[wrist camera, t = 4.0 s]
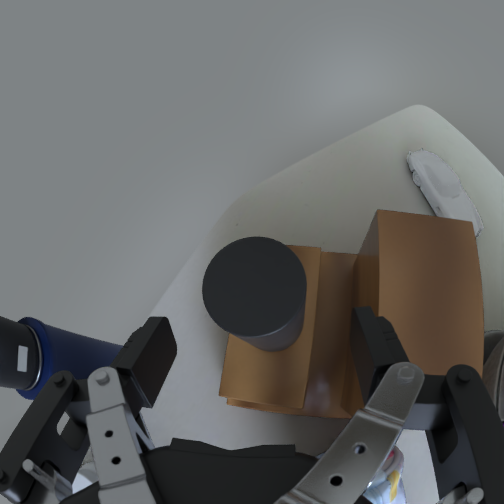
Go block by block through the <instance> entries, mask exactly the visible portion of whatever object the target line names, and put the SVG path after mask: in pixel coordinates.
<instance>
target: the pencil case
mask: <svg viewBox="0 0 504 504" xmlns="http://www.w3.org/2000/svg"><path fill="white" fill-rule="evenodd" d="M323 454H324V453H322V454H321V455H319V456H317V457H315V458H317V459H320V458H321V457H322V456H323ZM403 465H404V456H403V454H402V452H401V451H400V450H399V448H398V447H396V446H395V445H394V447H393V449H392V451H391V452H390V454H389V456H388V458H387V459H386V461H385V463H384V464H383V466H382V468H381V469H380V471H379V472H378V474H377V476H376V477H375V479H374V480H373V482H372V483H371V485H370V486H369V488H368V489H367V491H366V492H365V493H364V495H363V496H364V497H366V498H367V499H368V500H369V501H370V502H372V503H373V504H406V497H405V491H404V487H403V483H402V479H401V473H402V470H403Z"/></svg>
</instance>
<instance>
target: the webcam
mask: <svg viewBox="0 0 504 504" xmlns="http://www.w3.org/2000/svg"><path fill="white" fill-rule="evenodd" d="M482 381H483V383H484V385H485V387H486V389H487V391H488V393H489V395H490V397H491V399H492V401H493V403H494V405H495V407H496V410H497V412H498V414H499V416H500V419H501V421H502V423H503V426H504V331H502V330H492V331H488V332H484V355H483V372H482Z"/></svg>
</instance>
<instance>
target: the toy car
mask: <svg viewBox="0 0 504 504" xmlns="http://www.w3.org/2000/svg"><path fill="white" fill-rule="evenodd" d="M408 159H409V167H410V170H411V172H413V171H414V172H413V181H414V183H415V184H416V185H417V186H421V187H420V189H421V191H422V192H423V194H424V196H425V197H426V199H427V200H428V202H429V204H430V205H431V207H432V209H433V210H434V212H435V214H436V215H437V217H444V218H451V219H458V220H464V221H471V222H473V227H474V233H475V237H477V238H478V237H479V236H480V235H481V231H482V230H483V229H484V227H483V222H482V219H481V217H480V215H479V213H478V211H477V209H476V207H475V206H474V204H473V202H472V201H471V199H470V197H469V196H468V194H467V193H466V191H465V190H464V188H463V187H462V185H461V182H460V179H459V177H458V176H457V174H456V173H455V172H454V170H453V169H452V168H451V167H450V166H449V165H448V164H447V163H446V162H445V161H444V160H443V159H441V158H440V157H439V156H438V155H436V154H434V153H432V152H429V151H426V150H423V148H421V150H418V151H415V152H413V153H412V152H410V151H409V153H408V156H407V163H408ZM431 181H432V182H431ZM439 182H440V183H439ZM433 184H434V185H433ZM435 187H437V188H435ZM478 232H479V233H478Z"/></svg>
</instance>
